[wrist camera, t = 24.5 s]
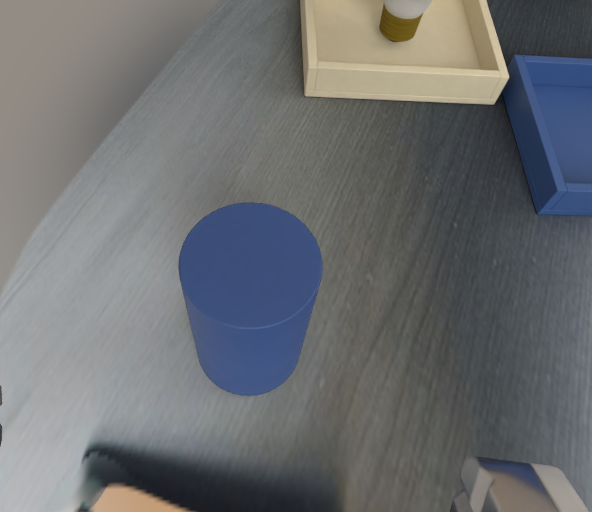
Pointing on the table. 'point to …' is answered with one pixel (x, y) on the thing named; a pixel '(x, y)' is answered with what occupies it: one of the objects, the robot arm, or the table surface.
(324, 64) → the cream tray
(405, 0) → the light bulb
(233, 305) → the blue pillar
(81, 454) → the table surface
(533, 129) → the blue tray
